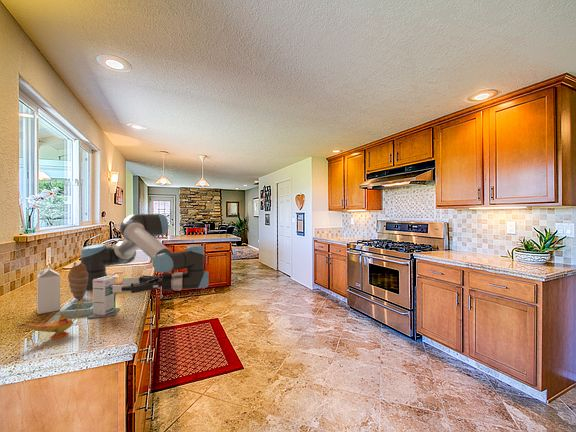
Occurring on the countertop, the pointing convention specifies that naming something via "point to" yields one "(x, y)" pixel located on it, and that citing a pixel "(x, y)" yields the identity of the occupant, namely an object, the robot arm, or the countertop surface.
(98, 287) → the syrup box
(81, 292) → the cat ice cream
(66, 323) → the magic lamp
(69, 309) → the corral
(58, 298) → the milk carton
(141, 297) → the countertop surface
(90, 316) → the coaster
